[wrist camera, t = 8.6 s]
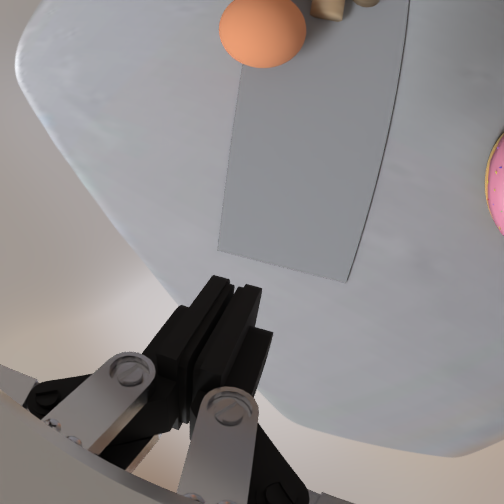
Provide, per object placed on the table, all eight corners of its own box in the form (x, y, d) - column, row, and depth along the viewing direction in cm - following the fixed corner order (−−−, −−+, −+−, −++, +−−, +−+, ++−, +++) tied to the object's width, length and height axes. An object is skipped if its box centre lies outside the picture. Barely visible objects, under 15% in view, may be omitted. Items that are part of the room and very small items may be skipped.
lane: (411, -59, 13) (412, -60, 13) (345, 282, 28) (345, 283, 28) (270, -81, 15) (270, -82, 15) (218, 249, 30) (217, 250, 30)
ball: (256, -36, 14) (261, 32, 14) (318, -2, 17) (328, 63, 18) (203, 5, 18) (201, 69, 19) (263, 27, 22) (267, 86, 23)
